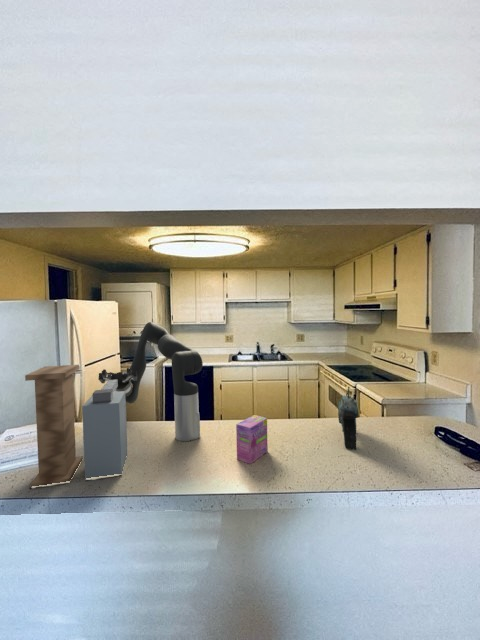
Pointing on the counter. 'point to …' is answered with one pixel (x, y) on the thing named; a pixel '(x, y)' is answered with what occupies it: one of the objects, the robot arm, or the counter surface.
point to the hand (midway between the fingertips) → (116, 370)
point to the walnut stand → (55, 424)
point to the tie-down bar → (105, 392)
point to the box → (251, 438)
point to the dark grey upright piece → (348, 419)
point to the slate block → (105, 436)
